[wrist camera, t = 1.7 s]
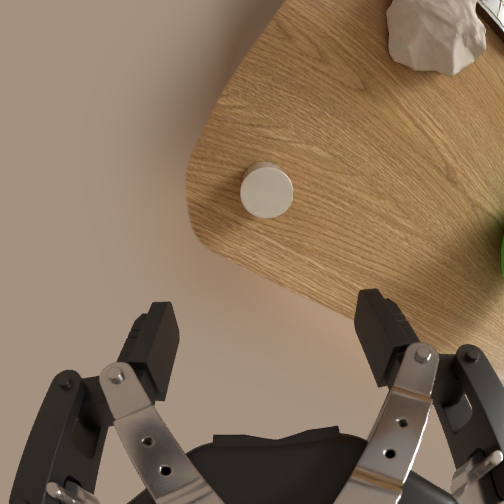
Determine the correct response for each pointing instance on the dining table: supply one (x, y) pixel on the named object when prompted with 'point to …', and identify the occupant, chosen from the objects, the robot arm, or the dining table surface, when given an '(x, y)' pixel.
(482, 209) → the dining table surface
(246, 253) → the dining table surface
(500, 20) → the game board
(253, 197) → the white cylinder
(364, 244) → the dining table surface
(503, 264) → the toy bird
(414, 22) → the decorative stone
